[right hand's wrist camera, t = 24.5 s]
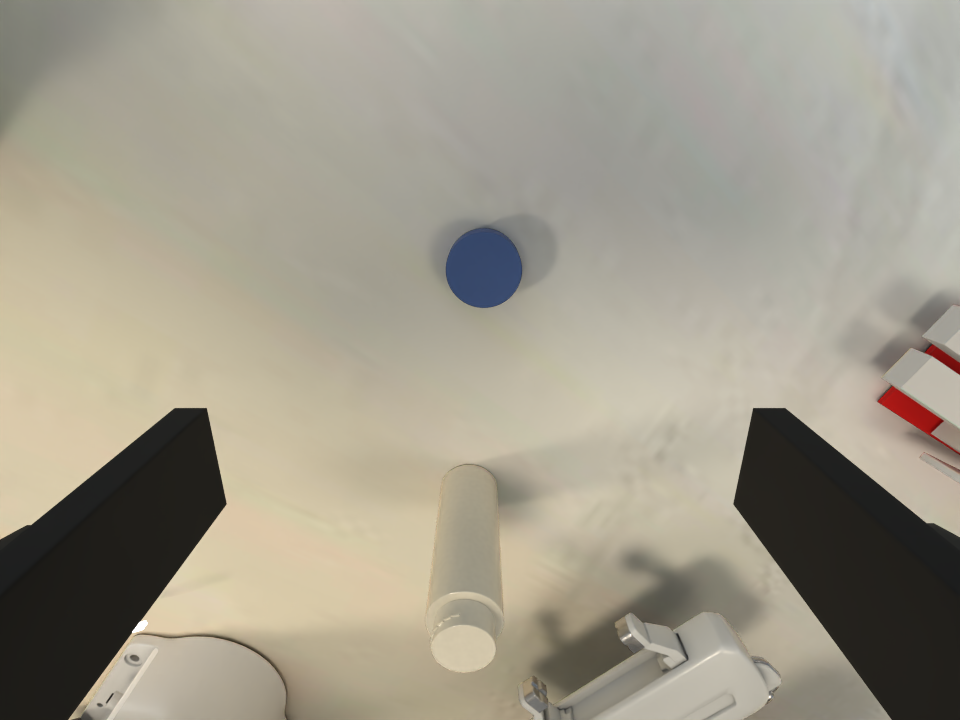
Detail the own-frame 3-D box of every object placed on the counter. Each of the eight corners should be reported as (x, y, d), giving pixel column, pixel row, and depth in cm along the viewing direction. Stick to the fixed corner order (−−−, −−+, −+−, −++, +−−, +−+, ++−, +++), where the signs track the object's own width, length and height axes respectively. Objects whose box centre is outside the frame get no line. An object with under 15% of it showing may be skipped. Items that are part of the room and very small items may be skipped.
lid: (494, 313, 38) (495, 321, 36) (434, 276, 37) (431, 282, 36) (533, 253, 37) (537, 259, 35) (472, 213, 36) (471, 216, 34)
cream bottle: (440, 464, 43) (420, 617, 29) (497, 464, 43) (506, 617, 29) (441, 511, 45) (423, 679, 30) (496, 511, 45) (505, 679, 30)
